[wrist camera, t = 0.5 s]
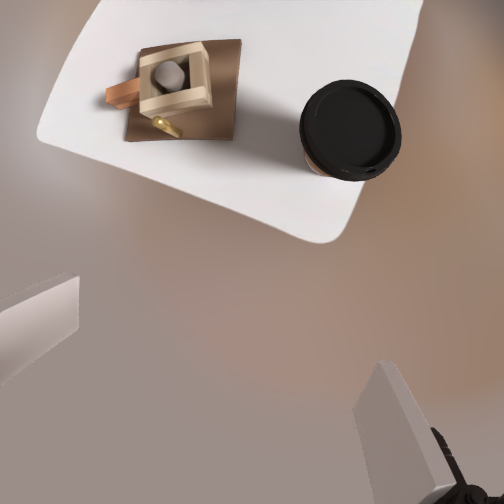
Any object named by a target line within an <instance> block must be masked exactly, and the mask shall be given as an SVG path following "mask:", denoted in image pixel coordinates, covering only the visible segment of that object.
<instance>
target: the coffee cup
mask: <svg viewBox="0 0 504 504" xmlns="http://www.w3.org/2000/svg"><path fill="white" fill-rule="evenodd" d="M299 132H300V138H301V142H302V145H303V147H304V155H305V159H306V162H307V164H308V165H309V167H310V168H311V169H312V170H313V171H314V172H315V173H317V174H319V175H321V176H325V177H333V178H337V179H340V180H344V181H353V182H356V181H366V180H369V179H372V178H375V177H376V176H378V175H380V174H381V173H383V172H384V171H385V170H386V169H387V168H388V167H389V166H390V164H391V163H392V162H393V161H394V160H395V158H396V157H397V155H398V153H399V150H400V147H401V139H402V138H401V137H402V135H401V127H400V123H399V119H398V117H397V115H396V113H395V110H394V109H393V107H392V106H391V104H390V103H389V101H388V100H387V99H386V98H385V97H384V96H383V95H382V94H381V93H380V92H379V91H377V90H376V89H375V88H373V87H371V86H370V85H368V84H365V83H363V82H360V81H355V80H338V81H334V82H331V83H329V84H328V85H326V86H324V87H323V88H321V89H319V90H318V91H317V92H316V93H314V94H313V95H312V96H311V98H310V99H309V100H308V102H307V103H306V105H305V107H304V109H303V112H302V114H301V118H300V129H299Z"/></svg>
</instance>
